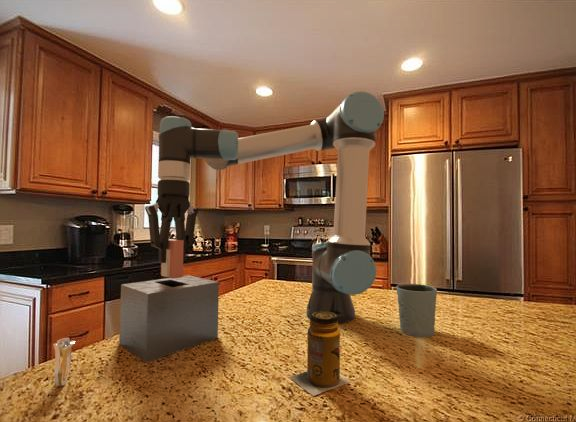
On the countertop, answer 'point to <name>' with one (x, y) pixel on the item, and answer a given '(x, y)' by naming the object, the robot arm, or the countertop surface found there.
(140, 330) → the coin box
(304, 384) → the condiment
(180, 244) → the block
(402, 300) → the grey cup
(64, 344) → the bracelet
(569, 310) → the countertop surface
